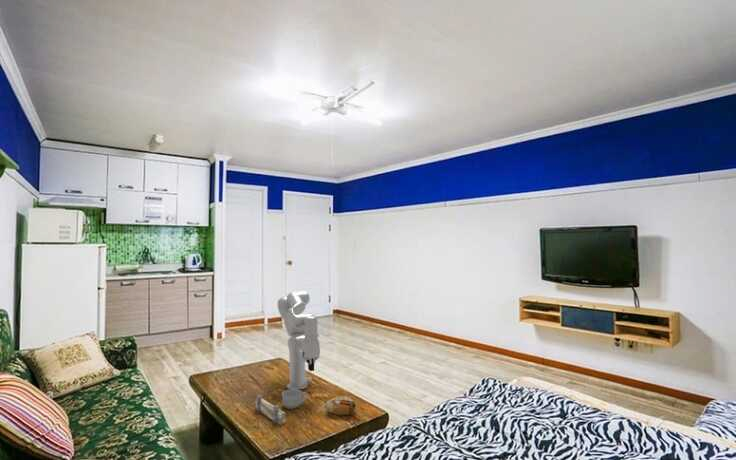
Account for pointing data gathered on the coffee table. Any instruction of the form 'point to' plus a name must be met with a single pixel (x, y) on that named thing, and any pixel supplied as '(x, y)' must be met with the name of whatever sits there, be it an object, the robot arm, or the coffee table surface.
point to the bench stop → (270, 410)
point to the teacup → (293, 398)
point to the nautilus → (341, 406)
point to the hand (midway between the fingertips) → (311, 370)
